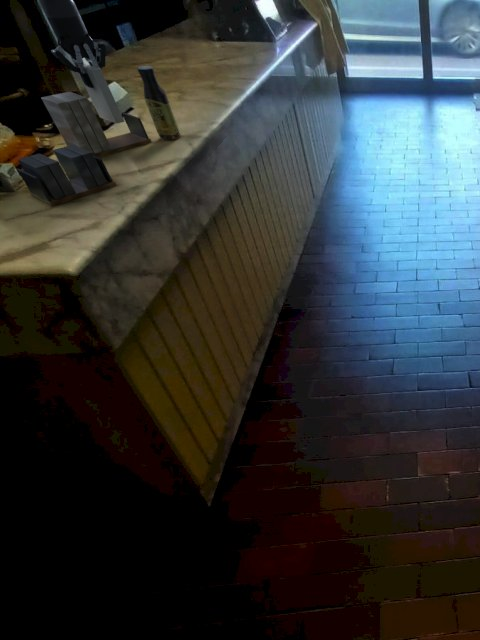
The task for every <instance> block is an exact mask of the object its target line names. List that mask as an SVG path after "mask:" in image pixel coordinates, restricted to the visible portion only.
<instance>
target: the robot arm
mask: <svg viewBox="0 0 480 640" xmlns="http://www.w3.org/2000/svg"><path fill="white" fill-rule="evenodd" d="M38 1H39V4H40V7H41V9H42V11H43V13H44V15H45V17H46V19H47V21H48V23H49V25H50V28H51V29H52V32H53V33H54V35H55V37H56V39H57V46H56V48H53V49H51V50H50V53H51V54H52V55H53V56H54V57H55V58H56V59H57V60H59V62H61V64H62V65H64V66H65V67H66V69H68V70H69V71H71V72H74V73H78V75H79V74H80V75H79V77H80V76H81V77H80V79H81V78H82V79H81V81H82V80H83V81H82V83H83V82H84V84H85V85H86V86H88V87H89V88H94V86H93V84H92V82H91V80H90V78H89V76H88V73H86V70H85V68H84V65H83V64H85V62H84V60H85V61H86V63H88V65H90V66H93V67H97V68H100V69H101V70H102V69H103V68H106V44H104V43H101V42H97V41H94V40H93V38H91V36H90V35H89V32H88V29H87V28H86V26H85V23H84V21H83V18H82V16H81V14H80V11H79V9H78V7H77V5H76V3H75V1H74V0H38ZM93 50H95V56H94V54H93V52H94V51H93ZM66 54H67V55H69V57H70V59H71V61H70V60H69V59H68V58H67V56H66ZM83 59H84V60H83ZM84 84H83V85H84Z"/></svg>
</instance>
